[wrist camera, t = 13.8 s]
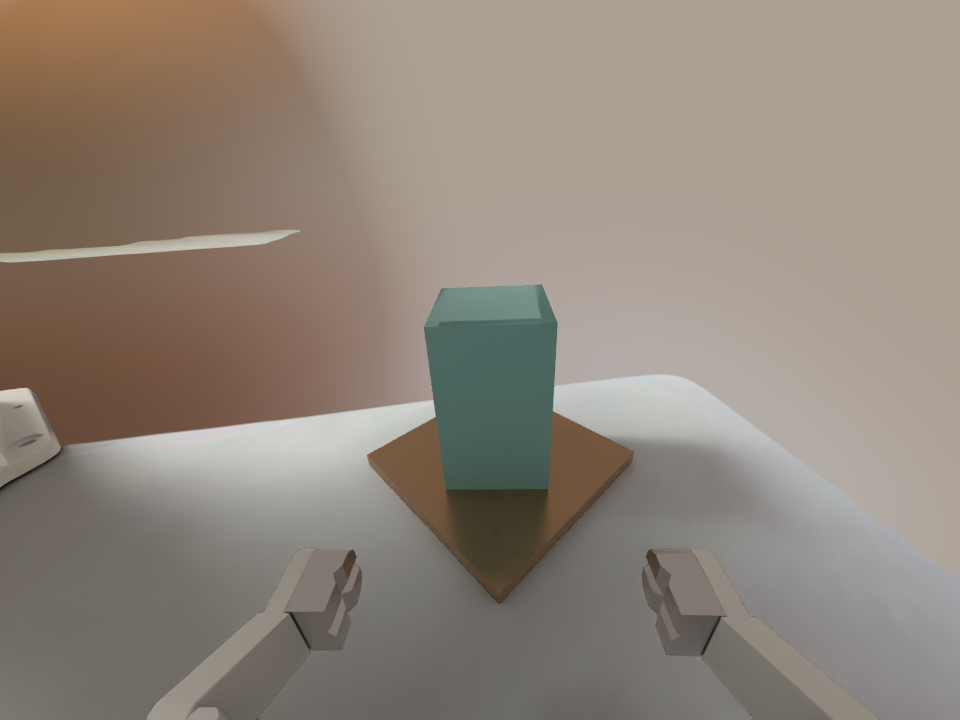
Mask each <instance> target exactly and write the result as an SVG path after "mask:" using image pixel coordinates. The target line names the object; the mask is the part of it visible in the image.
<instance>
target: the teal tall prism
mask: <svg viewBox="0 0 960 720" xmlns="http://www.w3.org/2000/svg"><path fill="white" fill-rule="evenodd" d="M424 331H425V339H426V346H427V354H428V361H429V369H430V376H431V383H432V391H433V399H434V406H435V414H436V421H437V429H438V436H439V444H440V451H441V459H442V466H443V474H444V481H445V488H446V490H484V489H548V486H549V468H550V450H551V432H552V414H553V396H554V378H555V377H554V376H555V360H556V341H557V321H556V318H555V316H554V314H553V311H552V308H551V306H550V304H549V301H548V299H547V296H546V294H545V291H544V289H543V286H542V285H523V286H497V287H471V288H447V289H441V291H440V293H439V295H438V297H437V300H436V302H435V304H434V306H433V309H432V311H431V313H430V315H429V317H428V320H427V322H426V324H425V326H424Z"/></svg>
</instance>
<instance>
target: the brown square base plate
mask: <svg viewBox="0 0 960 720" xmlns="http://www.w3.org/2000/svg"><path fill="white" fill-rule="evenodd" d="M633 454H634V452H633V451H631V450H629V449H627V448H625V447H623V446H621V445H619V444H617V443H615V442H613V441H611V440H609V439H607V438H605V437H603V436H601V435H599V434H597V433H595V432H593V431H591V430H589V429H587V428H585V427H583V426H581V425H579V424H577V423H575V422H573V421H571V420H569V419H567V418H565V417H563V416H561V415H559V414H557V413H555V412H553V414H552V432H551V450H550V468H549V486H548V489H484V490H446V488H445V481H444V474H443V466H442V459H441V451H440V444H439V436H438V429H437V421H436V417H435V418H433V419H431V420H430V421H428V422H426V423H424V424H422V425H421V426H419V427H417V428H415V429H413V430H411V431H410V432H408V433H406V434H404V435H402V436H401V437H399V438H397V439H395V440H393V441H392V442H390V443H388V444H386V445H384V446H383V447H381V448H379V449H377V450H375V451H374V452H372V453H370V454H368V455H367V457H368V461H369V464H370V466H371V467H372V468H373V469H374V470H375V471H376V472H377V473H378V474H379V475H380V476H381V477H382V478H383V479H384V481H385V482H386V483H387V484H388V485H389V486H390V487H391V488H392V489H393V490H394V491H395V492H396V493H397V494H398V495H399V497H400V498H401V499H402V500H403V501H404V502H405V503H406V504H407V505H408V506H409V507H410V508H411V509H412V510H413V512H414V513H415V514H416V515H417V516H418V517H419V518H420V519H421V520H422V521H423V522H424V523H425V524H426V525H427V526H428V528H429V529H430V530H431V531H432V532H433V533H434V534H435V535H436V536H437V537H438V538H439V539H440V540H441V541H442V543H443V544H444V545H445V546H446V547H447V548H448V549H449V550H450V551H451V552H452V553H453V554H454V555H455V556H456V557H457V559H458V560H459V561H460V562H461V563H462V564H463V565H464V566H465V567H466V568H467V569H468V570H469V571H470V572H471V574H472V575H473V576H474V577H475V578H476V579H477V580H478V581H479V582H480V583H481V584H482V585H483V586H484V587H485V588H486V590H487V591H488V592H489V593H490V594H491V595H492V596H493V597H494V598H495V599H496V600H497V601H498V602H499V603H500V602H501V601H502V600H503V599H504V598H505V597H506V596H507V595H508V594H509V593H510V591H511V590H512V589H513V588H514V587H515V586H516V585H517V584H518V583H519V582H520V581H521V580H522V579H523V578H524V576H525V575H526V574H527V573H528V572H529V571H530V570H531V569H532V568H533V567H534V566H535V565H536V564H537V563H538V561H539V560H540V559H541V558H542V557H543V556H544V555H545V554H546V553H547V552H548V551H549V550H550V549H551V548H552V546H553V545H554V544H555V543H556V542H557V541H558V540H559V539H560V538H561V537H562V536H563V535H564V534H565V533H566V532H567V530H568V529H569V528H570V527H571V526H572V525H573V524H574V523H575V522H576V521H577V520H578V519H579V518H580V517H581V515H582V514H583V513H584V512H585V511H586V510H587V509H588V508H589V507H590V506H591V505H592V504H593V503H594V502H595V500H596V499H597V498H598V497H599V496H600V495H601V494H602V493H603V492H604V491H605V490H606V489H607V488H608V487H609V485H610V484H611V483H612V482H613V481H614V480H615V479H616V478H617V477H618V476H619V475H620V474H621V473H622V472H623V470H624V469H625V468H626V467H627V466H628V465H629V464H630V463H631V462H632V459H633Z"/></svg>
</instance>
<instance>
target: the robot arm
mask: <svg viewBox="0 0 960 720" xmlns="http://www.w3.org/2000/svg"><path fill="white" fill-rule="evenodd" d="M60 449H61V446H60V444H59V442H58V440H57V438H56V436H55V434H54V431H53V429H52V427H51V425H50V423H49V421H48V419H47V417H46V414H45V412H44V410H43V408H42V406H41V404H40V402H39V400H38V398H37V396H36V395H35V394H34V393H33V392H32V391H31V390H30V389H28V388H20V389H12V390H4V391H0V487H1V486H3V485H4V484H6V483H7V482H9V481H11V480H13V479H15V478H17V477H18V476H20V475H22V474H24V473H26V472H28V471H29V470H31V469H33V468H35V467H37V466H38V465H40V464H42V463H44V462H45V461H47V460H49V459H50V458H52V457H53V456H55V455H56V454H57V453H58V452H59V451H60ZM646 558H647V560H648V563H649V564H647V565H646V566H645V567H644V568H643V573H642V582H643V589H644V593H645V597H646V600H647V603H648V605H649V607H650V608H651V609H652V610H653V611H654V612H655V613H656V614H657V615H658V617H657V621H656V628H657V631H658V633H659V636H660V639H661V642H662V645H663V647H664V650H665V653H666V655H677V656H699V657H702V660H703V661H704V662H705V663H706V664H707V666H708V667H709V668H710V669H711V670H712V671H713V673H714V674H715V675H716V676H717V677H718V678H719V679H720V681H721V682H722V683H723V684H724V685H725V686H726V688H727V689H728V690H729V691H730V692H731V693H732V694H733V696H734V697H735V698H736V699H737V700H738V701H739V703H740V704H741V705H742V706H743V707H744V708H745V710H746V711H747V712H748V713H749V714H750V715H751V716H752V718H753V719H754V720H880V719H879V718H878V717H877V716H875V715H874V714H873V713H872V712H871V711H869V710H868V709H867V708H866V707H865V706H863V705H862V704H861V703H860V702H859V701H857V700H856V699H855V698H854V697H853V696H851V695H850V694H849V693H848V692H847V691H845V690H844V689H843V688H842V687H841V686H839V685H838V684H837V683H836V682H834V681H833V680H832V679H831V678H830V677H828V676H827V675H826V674H825V673H824V672H822V671H821V670H820V669H819V668H818V667H816V666H815V665H814V664H813V663H812V662H810V661H809V660H808V659H807V658H806V657H804V656H803V655H802V654H801V653H800V652H798V651H797V650H796V649H795V648H794V647H792V646H791V645H790V644H789V643H788V642H786V641H785V640H784V639H783V638H782V637H780V636H779V635H778V634H777V633H776V632H774V631H773V630H772V629H771V628H770V627H768V626H767V625H766V624H765V623H764V622H762V621H761V620H760V619H759V618H758V617H751V616H750V615H749V613H748V611H747V609H746V608H745V606H744V604H743V603H742V601H741V599H740V597H739V596H738V594H737V592H736V591H735V589H734V587H733V585H732V584H731V582H730V580H729V579H728V577H727V575H726V573H725V572H724V570H723V568H722V567H721V565H720V563H719V561H718V560H717V558H716V556H715V555H714V553H713V552H712V551H711V550H709V549H687V548H681V549H650V550H649V551H648V553H647V556H646ZM355 560H356V555H355V552H354V550H319V549H299V550H298V551H297V552H296V553H295V555H294V556H293V557H292V559H291V561H290V563H289V565H288V567H287V569H286V571H285V573H284V574H283V576H282V578H281V580H280V582H279V584H278V586H277V588H276V590H275V592H274V593H273V595H272V597H271V599H270V601H269V603H268V605H267V607H266V609H265V611H264V612H259V613H257V614H256V615H255V616H254V617H253V618H251V619H250V620H249V621H248V622H247V623H246V624H245V625H244V626H242V627H241V628H240V629H239V630H238V631H237V632H236V633H235V634H233V635H232V636H231V637H230V638H229V639H228V640H227V641H225V642H224V643H223V644H222V645H221V646H220V647H219V648H218V649H216V650H215V651H214V652H213V653H212V654H211V655H210V656H209V657H207V658H206V659H205V660H204V661H203V662H202V663H201V664H200V665H198V666H197V667H196V668H195V669H194V670H193V671H192V672H191V673H189V674H188V675H187V676H186V677H185V678H184V679H183V680H181V681H180V682H179V683H178V684H177V685H176V686H175V687H174V688H172V689H171V690H170V691H169V692H168V693H167V694H166V695H165V696H163V697H162V698H161V699H160V700H159V701H158V702H157V703H156V704H155V705H154V707H153V708H152V710H151V711H150V713H149V714H148V716H147V718H146V719H145V720H257V718H258V717H259V716H260V715H261V713H262V712H263V711H264V710H265V708H266V707H267V706H268V705H269V704H270V702H271V701H272V700H273V699H274V697H275V696H276V695H277V694H278V692H279V691H280V690H281V689H282V687H283V686H284V685H285V684H286V683H287V681H288V680H289V679H290V678H291V676H292V675H293V674H294V673H295V671H296V670H297V669H298V668H299V667H300V665H301V664H302V663H303V662H304V660H305V659H306V658H307V657H308V655H309V654H310V651H315V650H342V649H343V646H344V643H345V639H346V636H347V633H348V630H349V627H350V624H351V619H350V616H349V611H350V610H351V609H352V608H353V607H354V606H355V605H356V604H357V602H358V598H359V595H360V591H361V584H362V572H361V569H360V567H359V566H358V565H357V564H355V563H354V562H355Z"/></svg>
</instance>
